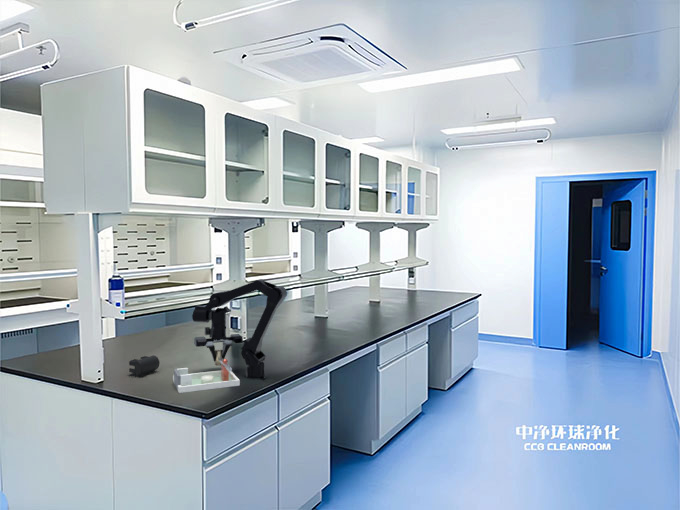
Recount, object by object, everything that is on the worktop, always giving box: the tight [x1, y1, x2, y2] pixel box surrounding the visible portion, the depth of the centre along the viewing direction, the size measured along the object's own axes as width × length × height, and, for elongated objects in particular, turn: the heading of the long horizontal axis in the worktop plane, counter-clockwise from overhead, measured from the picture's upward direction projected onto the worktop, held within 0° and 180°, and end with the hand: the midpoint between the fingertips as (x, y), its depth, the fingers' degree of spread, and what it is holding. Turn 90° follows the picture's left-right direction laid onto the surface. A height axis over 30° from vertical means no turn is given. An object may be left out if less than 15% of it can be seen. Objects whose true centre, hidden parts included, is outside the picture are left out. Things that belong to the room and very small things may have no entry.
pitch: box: [172, 367, 241, 394], centre depth 186 cm, size 22×16×6 cm
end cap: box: [128, 355, 160, 378], centre depth 200 cm, size 10×7×7 cm
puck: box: [201, 375, 213, 384], centre depth 186 cm, size 4×4×2 cm
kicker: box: [214, 348, 233, 381], centre depth 191 cm, size 3×22×9 cm, turn 26°
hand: (218, 360), depth 199 cm, fingers closed on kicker, 3 cm apart
